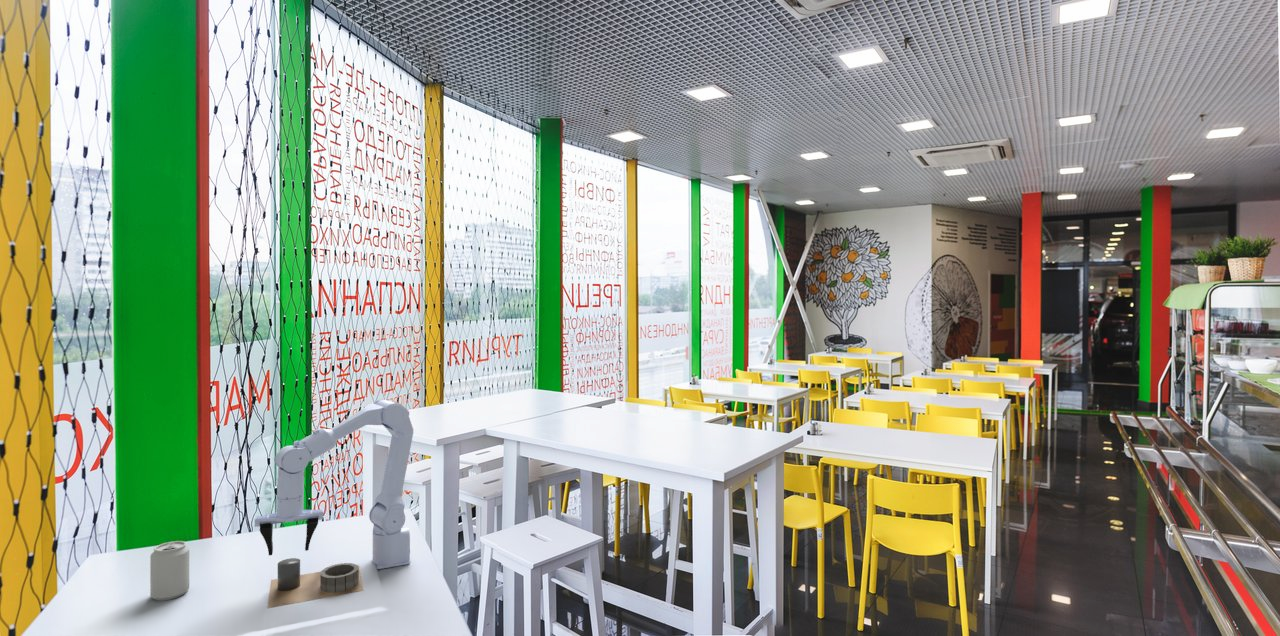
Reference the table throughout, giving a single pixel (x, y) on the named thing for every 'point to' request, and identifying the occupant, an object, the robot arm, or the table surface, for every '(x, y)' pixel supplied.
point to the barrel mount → (319, 585)
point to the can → (169, 570)
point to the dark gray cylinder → (288, 574)
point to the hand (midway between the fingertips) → (289, 551)
